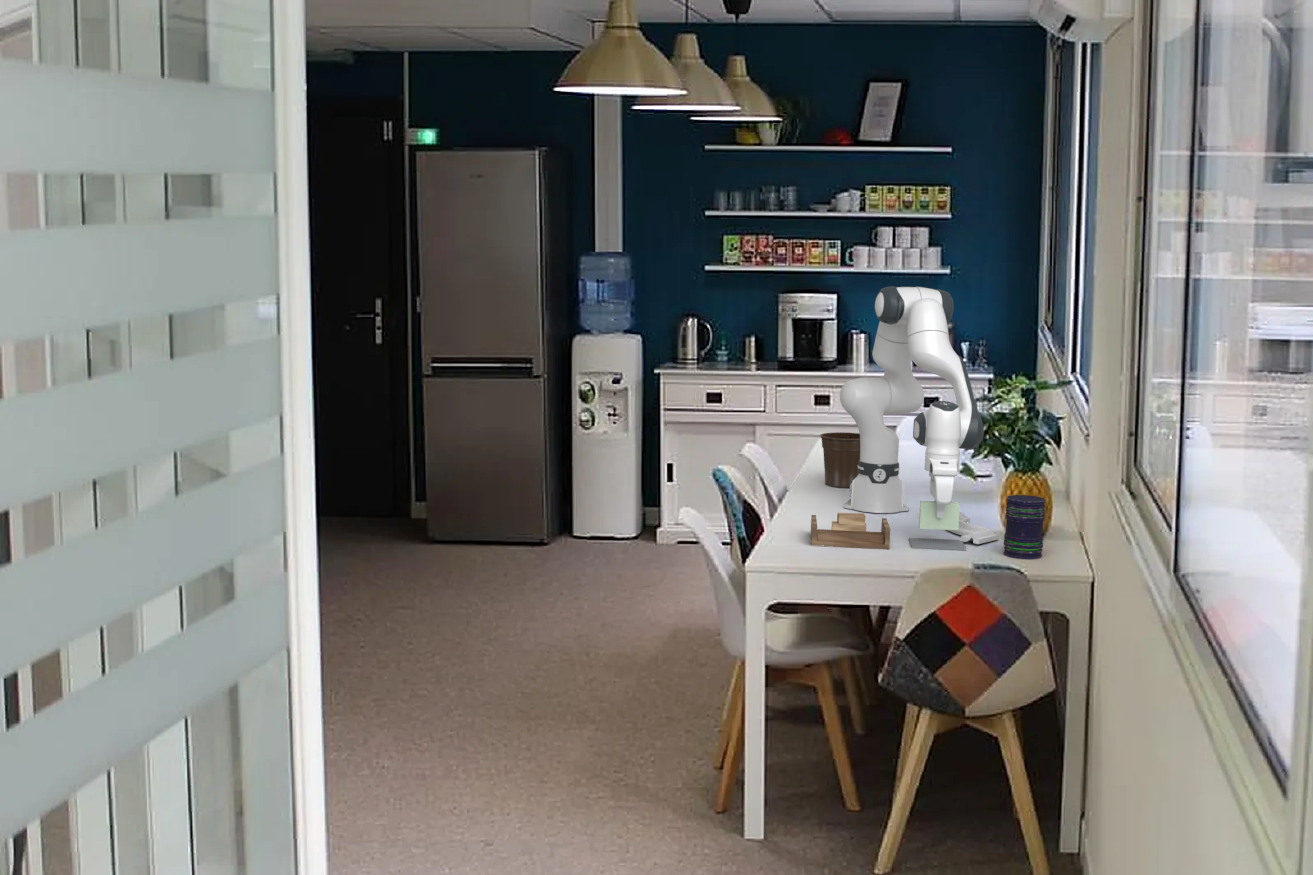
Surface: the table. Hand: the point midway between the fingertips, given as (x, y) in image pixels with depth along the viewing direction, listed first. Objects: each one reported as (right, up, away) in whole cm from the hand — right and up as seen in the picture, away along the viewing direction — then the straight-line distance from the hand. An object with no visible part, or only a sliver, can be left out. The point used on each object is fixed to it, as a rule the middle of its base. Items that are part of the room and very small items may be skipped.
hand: (939, 516), depth 426 cm
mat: (0, -8, +1) cm, 8 cm away
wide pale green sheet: (0, -3, 0) cm, 3 cm away
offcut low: (-23, -5, +7) cm, 24 cm away
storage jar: (+20, -10, -9) cm, 24 cm away
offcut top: (-22, -2, +7) cm, 23 cm away
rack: (-23, -7, +2) cm, 24 cm away
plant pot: (-14, +5, +93) cm, 94 cm away
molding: (+8, -5, +22) cm, 24 cm away
